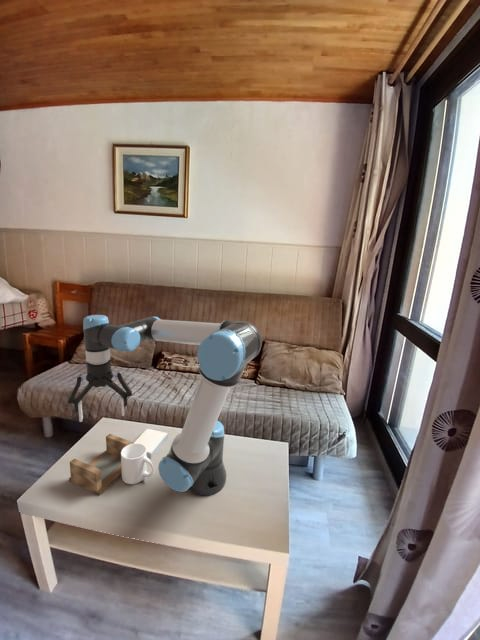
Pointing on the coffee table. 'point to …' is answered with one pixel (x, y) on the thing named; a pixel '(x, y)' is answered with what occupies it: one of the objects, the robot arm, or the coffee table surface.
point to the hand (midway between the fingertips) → (102, 416)
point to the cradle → (100, 467)
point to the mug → (134, 463)
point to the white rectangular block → (152, 441)
